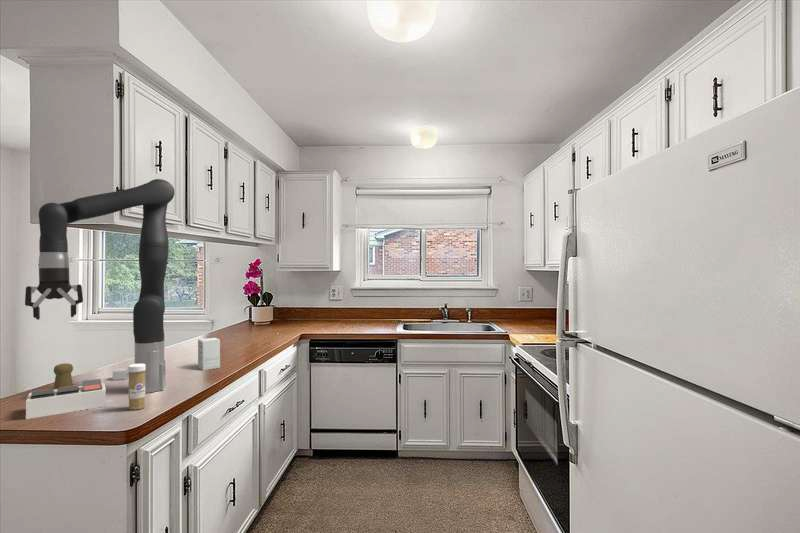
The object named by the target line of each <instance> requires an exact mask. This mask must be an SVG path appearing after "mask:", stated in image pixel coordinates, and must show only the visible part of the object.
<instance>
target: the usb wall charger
mask: <svg viewBox="0 0 800 533" xmlns="http://www.w3.org/2000/svg"><path fill="white" fill-rule="evenodd" d="M127 378H128V379H129V372H128V367H126V368H125V367H120V368H115V369H113V370H112V381H125V380H128V379H127Z"/></svg>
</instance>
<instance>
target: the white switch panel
mask: <svg viewBox="0 0 800 533" xmlns="http://www.w3.org/2000/svg"><path fill="white" fill-rule="evenodd" d="M82 387H83V385H79V386H78V391H70V392H63V393H58V389H56V390H54V394H48V395H41V396H32V392H29V393H28V395H27V398H26V400H25V419H26V420H30V419H37V418H43V417H49V416H55V415H60V414H61V415H62V414H67V413H73V412H74V411H75V412H80V410H81V411H85V410H86V409H88V410H93V408H94V409H100V408H106V407H107V406H106V405H107V400H106V398H107V396H106V395H107V390H106V389H107V388H106V385H105V382H103V383H102V382H101V390H95V391H88V392H82ZM105 406H106V407H105ZM99 407H100V408H99ZM86 411H87V410H86ZM75 412H74V413H75Z"/></svg>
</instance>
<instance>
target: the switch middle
mask: <svg viewBox="0 0 800 533" xmlns="http://www.w3.org/2000/svg"><path fill="white" fill-rule="evenodd" d="M78 387H79V386H78V385H77V384H76V385H73V386H68V387H60V388H58V393H63V392H70V391H78Z"/></svg>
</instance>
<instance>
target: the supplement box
mask: <svg viewBox="0 0 800 533" xmlns="http://www.w3.org/2000/svg"><path fill="white" fill-rule="evenodd" d="M197 367H198V369H200V370H202V371H209V370H214V369H215V370H216V369H221V339H220V338H217V337H208V338H198V339H197Z"/></svg>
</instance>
